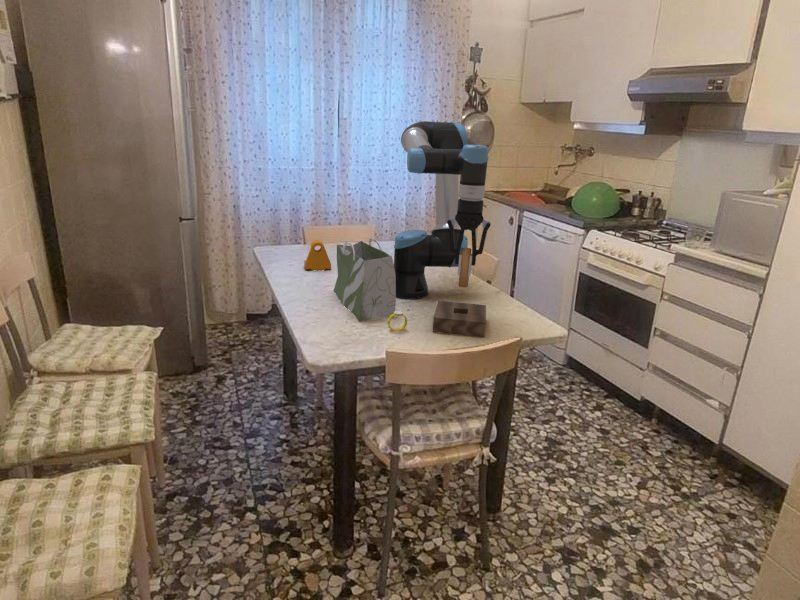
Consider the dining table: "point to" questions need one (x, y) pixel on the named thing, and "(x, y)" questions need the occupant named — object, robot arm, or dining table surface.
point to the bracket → (317, 257)
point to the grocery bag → (366, 280)
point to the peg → (464, 267)
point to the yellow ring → (397, 313)
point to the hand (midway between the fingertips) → (464, 274)
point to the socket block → (460, 319)
